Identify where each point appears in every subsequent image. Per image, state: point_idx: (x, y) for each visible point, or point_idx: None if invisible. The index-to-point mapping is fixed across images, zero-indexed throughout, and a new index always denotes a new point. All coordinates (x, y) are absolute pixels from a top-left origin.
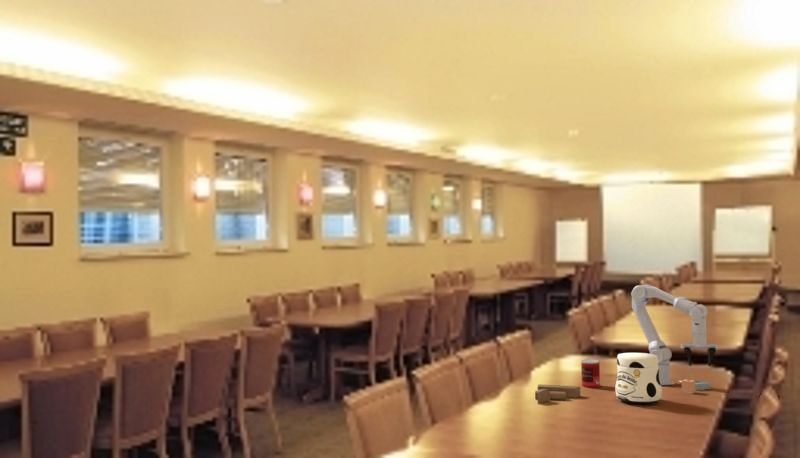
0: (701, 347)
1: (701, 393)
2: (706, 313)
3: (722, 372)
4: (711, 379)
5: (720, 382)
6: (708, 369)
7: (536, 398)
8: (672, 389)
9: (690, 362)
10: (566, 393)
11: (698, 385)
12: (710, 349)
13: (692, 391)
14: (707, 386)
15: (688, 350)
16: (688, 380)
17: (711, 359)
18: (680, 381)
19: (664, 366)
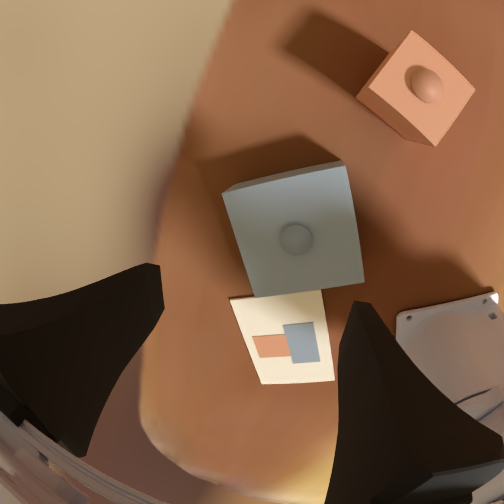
0: (117, 500)
1: (321, 67)
2: None
3: (150, 430)
4: (185, 384)
5: (157, 339)
6: (182, 455)
7: None
8: (459, 196)
9: (373, 319)
10: None
11: (311, 171)
12: (7, 387)
13: (384, 59)
14: (244, 184)
15: (478, 461)
16: (429, 69)
17: (89, 287)
18: (331, 369)
19: (479, 382)
